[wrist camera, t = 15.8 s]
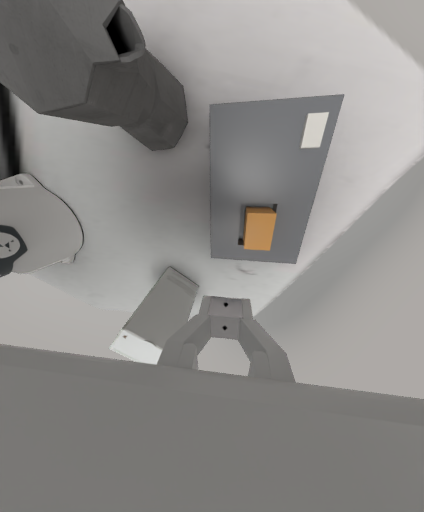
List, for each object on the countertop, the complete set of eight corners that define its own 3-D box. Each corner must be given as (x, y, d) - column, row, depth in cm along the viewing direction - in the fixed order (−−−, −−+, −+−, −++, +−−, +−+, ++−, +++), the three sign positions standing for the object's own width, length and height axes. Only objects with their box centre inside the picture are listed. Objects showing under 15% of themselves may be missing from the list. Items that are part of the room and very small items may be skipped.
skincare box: (157, 282, 35) (104, 348, 21) (170, 264, 32) (119, 327, 18) (186, 301, 36) (154, 375, 23) (201, 286, 33) (175, 359, 20)
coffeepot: (211, 80, 18) (50, -507, 3) (193, 165, 23) (94, 134, 7) (94, 39, 18) (-773, -804, 3) (99, 132, 23) (-211, 27, 7)
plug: (242, 235, 26) (244, 249, 21) (245, 205, 24) (247, 212, 19) (263, 236, 26) (269, 250, 21) (268, 206, 23) (276, 213, 18)
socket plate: (213, 250, 29) (210, 259, 26) (213, 114, 20) (208, 102, 17) (290, 255, 27) (296, 265, 24) (328, 106, 18) (348, 91, 15)
